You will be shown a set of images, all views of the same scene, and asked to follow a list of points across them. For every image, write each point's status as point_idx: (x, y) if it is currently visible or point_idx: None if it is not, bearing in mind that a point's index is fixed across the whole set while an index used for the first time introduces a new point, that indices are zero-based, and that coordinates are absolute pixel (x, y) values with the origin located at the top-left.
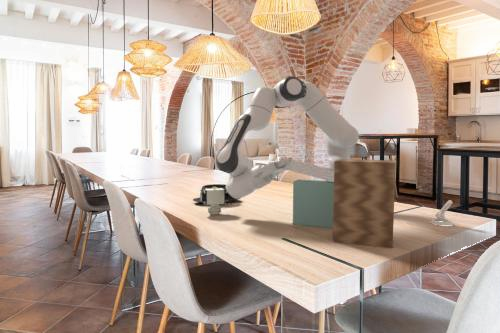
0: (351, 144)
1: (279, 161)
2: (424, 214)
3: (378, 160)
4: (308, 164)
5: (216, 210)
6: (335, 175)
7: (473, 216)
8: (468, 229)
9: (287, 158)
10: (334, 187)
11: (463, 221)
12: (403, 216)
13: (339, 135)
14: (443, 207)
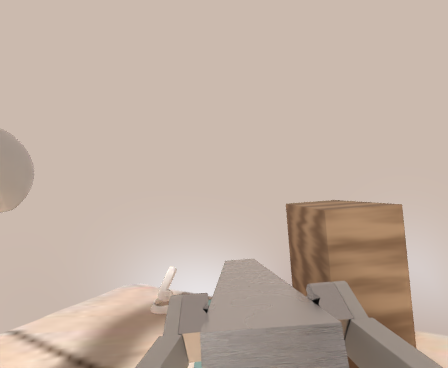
0: (23, 199)
1: (421, 355)
2: (91, 322)
3: (301, 204)
4: (264, 274)
5: None
6: (403, 239)
7: (111, 291)
8: (189, 292)
9: (333, 282)
10: (407, 270)
11: (143, 295)
12: (106, 340)
13: (3, 162)
14: (171, 279)
